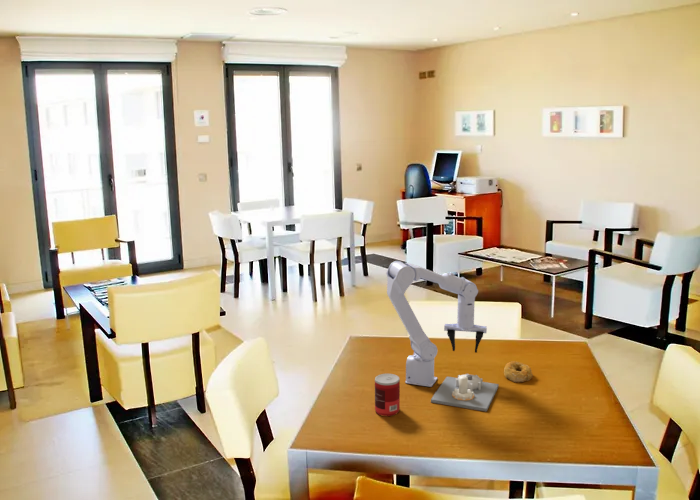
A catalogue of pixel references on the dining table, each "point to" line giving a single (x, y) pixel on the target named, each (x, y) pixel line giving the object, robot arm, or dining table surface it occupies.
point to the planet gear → (463, 389)
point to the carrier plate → (480, 389)
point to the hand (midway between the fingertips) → (464, 350)
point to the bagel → (517, 371)
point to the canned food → (387, 394)
